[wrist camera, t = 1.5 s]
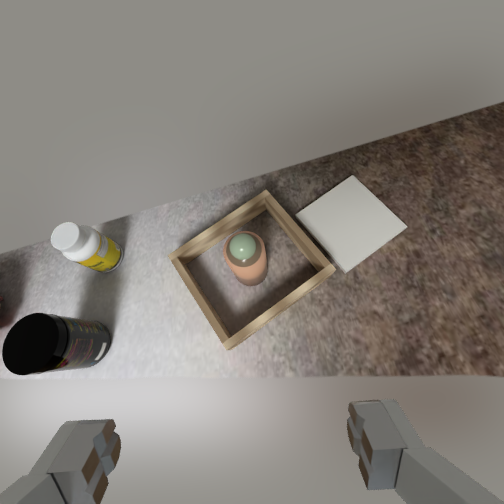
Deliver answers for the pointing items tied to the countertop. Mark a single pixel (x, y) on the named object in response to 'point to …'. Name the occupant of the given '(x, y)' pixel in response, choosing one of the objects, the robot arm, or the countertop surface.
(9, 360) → the supplement container
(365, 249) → the paving tile
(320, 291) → the countertop surface
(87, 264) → the supplement bottle
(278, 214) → the brown wooden rectangular frame
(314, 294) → the countertop surface
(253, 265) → the peach bottle
